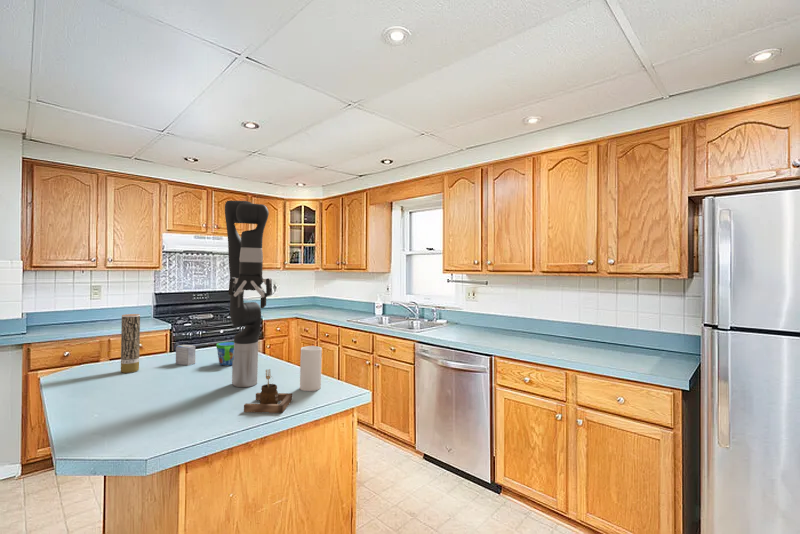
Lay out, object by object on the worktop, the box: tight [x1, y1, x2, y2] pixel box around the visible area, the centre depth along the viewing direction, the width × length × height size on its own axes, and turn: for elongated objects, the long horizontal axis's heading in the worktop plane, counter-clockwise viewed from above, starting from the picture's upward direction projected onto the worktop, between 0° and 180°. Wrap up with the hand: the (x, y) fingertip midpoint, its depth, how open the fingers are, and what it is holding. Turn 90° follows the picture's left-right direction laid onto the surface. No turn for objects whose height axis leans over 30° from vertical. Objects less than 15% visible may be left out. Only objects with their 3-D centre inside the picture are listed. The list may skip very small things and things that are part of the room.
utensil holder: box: [259, 368, 279, 404], centre depth 141 cm, size 6×6×12 cm
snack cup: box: [215, 341, 234, 367], centre depth 196 cm, size 16×11×10 cm
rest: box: [243, 392, 293, 414], centre depth 141 cm, size 13×13×2 cm
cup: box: [299, 345, 323, 392], centre depth 163 cm, size 8×8×16 cm
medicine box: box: [175, 344, 196, 366], centre depth 195 cm, size 8×4×9 cm, turn 71°
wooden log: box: [120, 313, 141, 374], centre depth 180 cm, size 7×7×25 cm
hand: (250, 307), depth 141 cm, fingers open, 8 cm apart
